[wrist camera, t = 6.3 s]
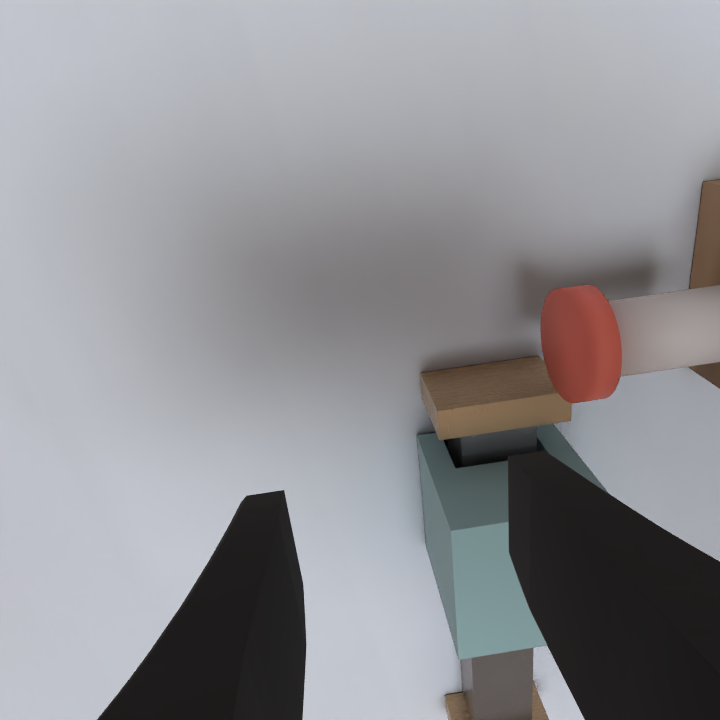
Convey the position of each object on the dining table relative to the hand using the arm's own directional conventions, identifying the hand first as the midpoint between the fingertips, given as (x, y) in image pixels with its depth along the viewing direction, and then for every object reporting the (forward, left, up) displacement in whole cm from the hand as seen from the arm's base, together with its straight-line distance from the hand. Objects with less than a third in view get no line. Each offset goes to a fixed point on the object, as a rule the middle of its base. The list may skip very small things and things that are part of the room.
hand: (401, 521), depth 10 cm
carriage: (-4, +7, -9) cm, 12 cm away
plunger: (-8, 0, -7) cm, 11 cm away
